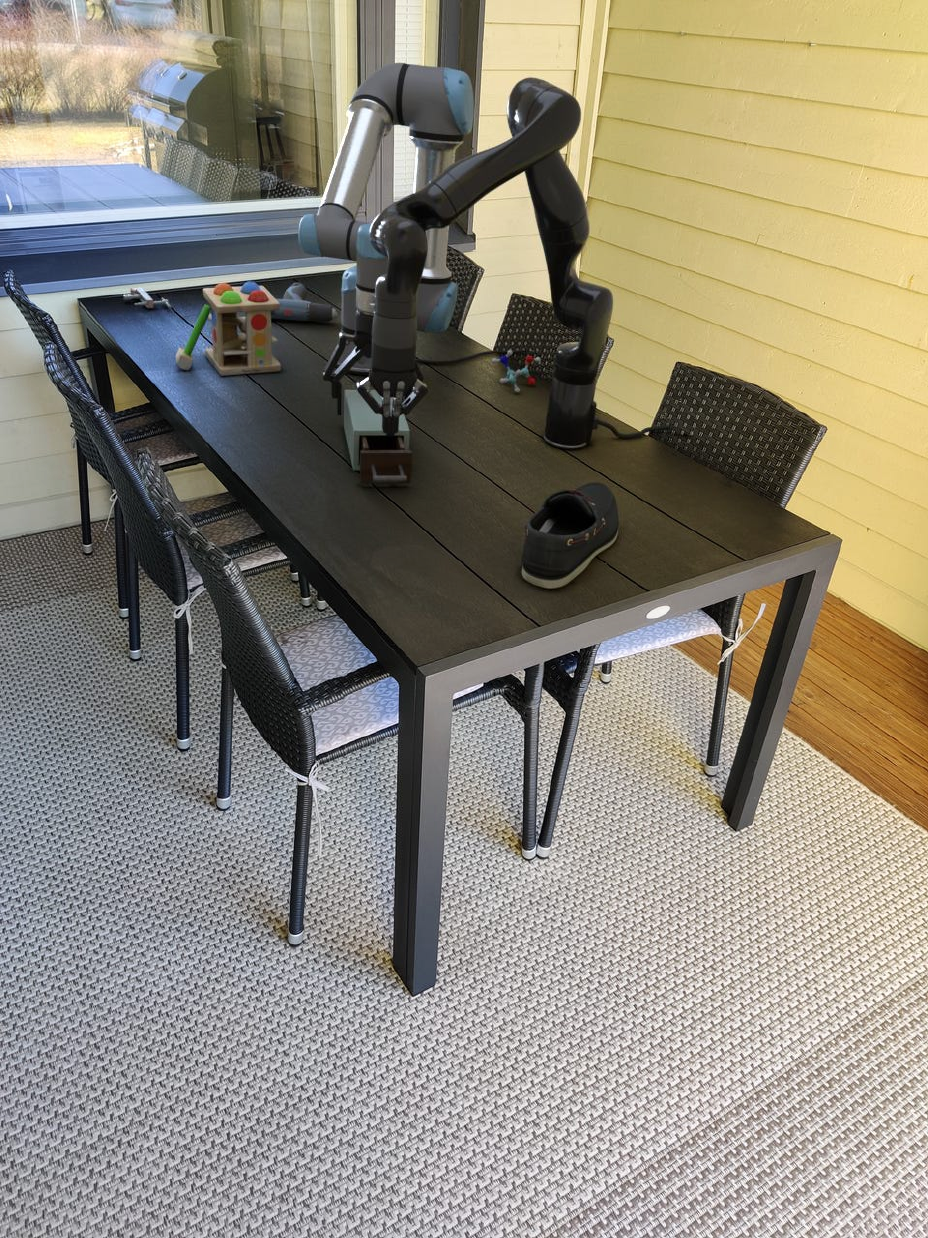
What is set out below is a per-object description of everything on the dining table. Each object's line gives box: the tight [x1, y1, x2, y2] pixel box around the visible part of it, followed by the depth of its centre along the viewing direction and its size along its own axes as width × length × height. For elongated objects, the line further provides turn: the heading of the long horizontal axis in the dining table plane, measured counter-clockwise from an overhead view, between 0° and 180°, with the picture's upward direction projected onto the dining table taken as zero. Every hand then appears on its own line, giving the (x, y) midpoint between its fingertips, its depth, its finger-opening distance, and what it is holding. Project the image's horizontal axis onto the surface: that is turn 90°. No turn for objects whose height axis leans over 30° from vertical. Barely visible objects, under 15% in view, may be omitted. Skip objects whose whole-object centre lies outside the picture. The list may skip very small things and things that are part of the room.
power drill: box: [271, 282, 338, 322], centre depth 265 cm, size 5×19×20 cm
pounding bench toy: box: [174, 281, 282, 377], centre depth 225 cm, size 23×14×18 cm, turn 116°
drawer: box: [359, 435, 413, 485], centre depth 188 cm, size 25×10×6 cm, turn 11°
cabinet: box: [343, 389, 411, 471], centre depth 197 cm, size 20×11×8 cm, turn 11°
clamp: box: [122, 287, 173, 309], centre depth 261 cm, size 15×2×10 cm
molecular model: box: [491, 349, 541, 394], centre depth 232 cm, size 12×10×10 cm
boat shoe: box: [520, 481, 620, 590], centre depth 170 cm, size 13×33×10 cm, turn 147°
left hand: (372, 412), depth 202 cm, fingers open, 13 cm apart
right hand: (390, 434), depth 175 cm, fingers closed
